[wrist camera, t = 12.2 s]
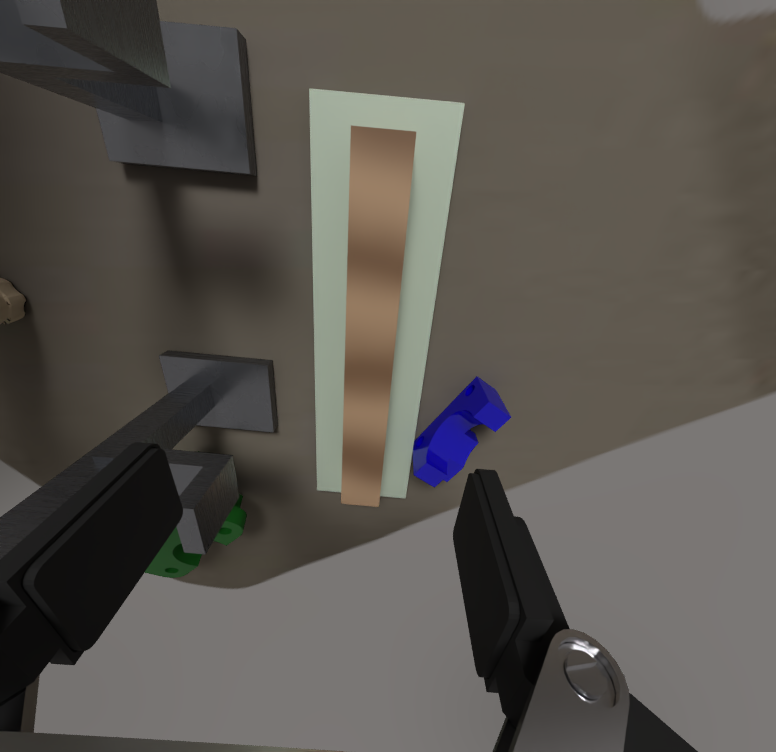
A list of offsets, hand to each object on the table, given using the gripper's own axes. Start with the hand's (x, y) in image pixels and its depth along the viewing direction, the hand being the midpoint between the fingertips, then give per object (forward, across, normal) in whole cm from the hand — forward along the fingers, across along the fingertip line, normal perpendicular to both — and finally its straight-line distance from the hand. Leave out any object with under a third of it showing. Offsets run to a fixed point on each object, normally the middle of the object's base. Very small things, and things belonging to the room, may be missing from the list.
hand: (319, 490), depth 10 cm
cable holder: (+15, -8, +7) cm, 18 cm away
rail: (+14, -1, +1) cm, 14 cm away
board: (+15, -1, +1) cm, 15 cm away
